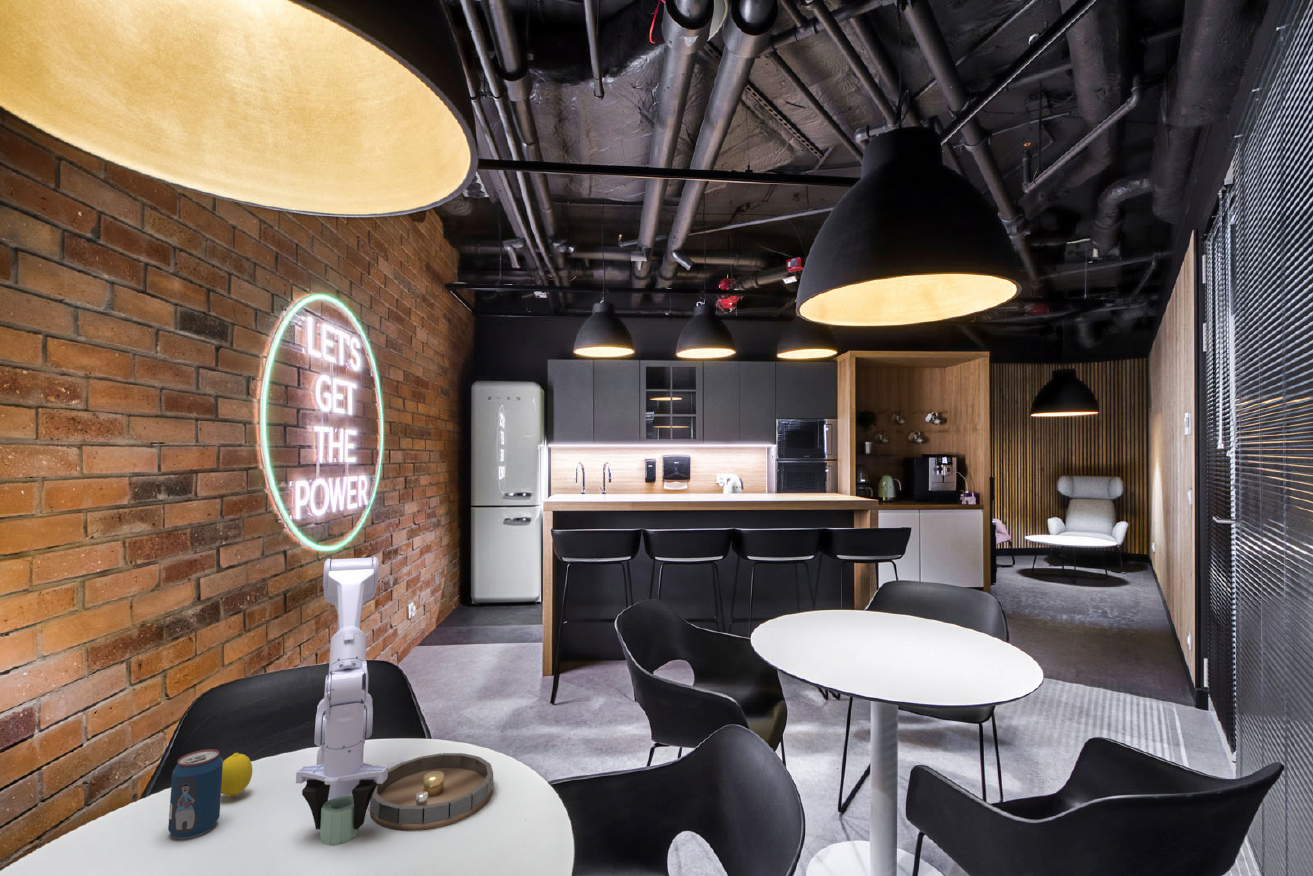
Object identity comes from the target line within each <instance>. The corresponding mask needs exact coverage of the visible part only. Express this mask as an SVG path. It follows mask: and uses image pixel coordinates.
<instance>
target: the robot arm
mask: <svg viewBox="0 0 1313 876" xmlns="http://www.w3.org/2000/svg"><path fill="white" fill-rule="evenodd" d="M379 568H380V567H379V559H378V558H377V557H376V556H373V557H358V558H357V557H355V558H351V557H350V558H332V559H331V558H327V559H326V560H325V561H324V565H323V578H322V579H323V580H322V588H323V597H324V598H325V599H324V601H325V602H326V603H329V604H332V605H334V606H335V610H336V612H337V613H336V614H337V624H336V625H337V626H336V627H337V630H336V632H335V634H333V636H332V637H331V639H330V648H329V650H330V651H329V664H328V666H329V667H328V674H326V676H325V682H324V695H323V698H322V699H321V700H320V701H319V702H318V704H317V709H316V715H315V725H314V726H315V727H314V740H313V741H314V745H316V747H319V748H318V750H317V753H316V764H315V765H308V766H305V765H304V766H302V767H301V768H299V769H298V770H297V771H296V773H295V774H296V775H295V776H296V778H295V784H303V783H305V782H306V784H305V786H304V788H302V790H301V794H302V795H301V796H303V798H304V799H305V800H306V802H307V804H308V806H309V808H310V811H311V813H312V818H313V823H314V826H315V830H320V827H321V808H322V806H323V804H324V803H326V802H327V801H329V800H330V799H333V798H336V797H339V796H344V795H353V800H354V829H359V830H360V828H361V827H362V825H364V823H365V818H366V815H367V810H368V807H369V806H370V800H371V797H372V795H373V793H374V790H375V788H376V786H377V784H382V783H383V782H384V781H385V780H386V779H387V777H388V769H389V767H388V766H382V765H376V764H370V763H366V762H364V753H365V751H364V749H365V748H364V747H365V743H366V739H369V738H370V737H371V736H372V733H373V719H374V718H373V716H374V715H373V714H374V711H373V710H374V708H373V698H372V695H371V694H370V693H369V692H368V691H369V671H368V664H367V660H366V659H367V656H366V655H367V654H366V651H367V635H366V633H365V632H364V631H363V630H362V629H361V617H362V616H361V615H362V611H363V608H364V606H365V603H366V602H368V601H371V600H373V599H374V598H375V595H376V594H377V587H378V585H379V584H378V583H379Z"/></svg>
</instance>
